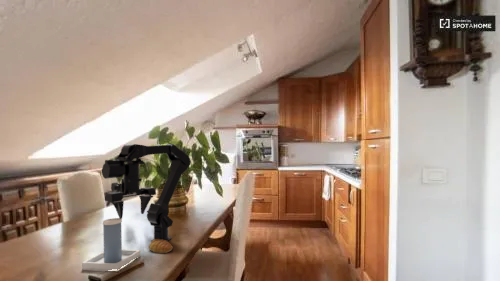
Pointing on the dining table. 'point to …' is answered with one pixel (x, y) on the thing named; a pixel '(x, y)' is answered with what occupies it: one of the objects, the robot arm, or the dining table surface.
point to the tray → (99, 265)
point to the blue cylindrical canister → (112, 240)
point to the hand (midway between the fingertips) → (131, 216)
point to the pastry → (160, 246)
